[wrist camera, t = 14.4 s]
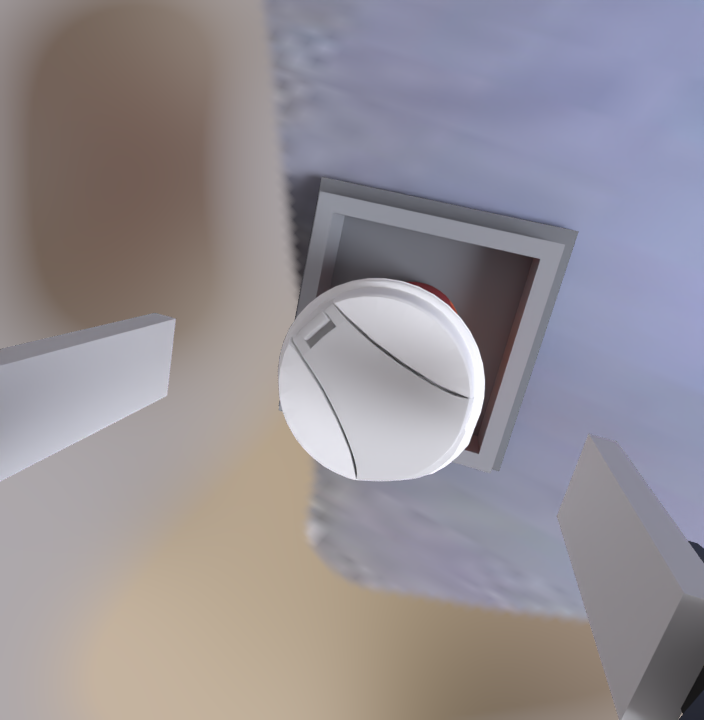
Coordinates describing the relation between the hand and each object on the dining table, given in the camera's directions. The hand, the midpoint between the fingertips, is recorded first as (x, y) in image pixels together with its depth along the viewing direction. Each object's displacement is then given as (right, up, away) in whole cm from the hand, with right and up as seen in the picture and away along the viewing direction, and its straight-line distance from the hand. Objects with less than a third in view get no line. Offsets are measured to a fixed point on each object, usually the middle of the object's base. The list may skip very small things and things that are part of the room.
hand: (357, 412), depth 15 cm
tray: (+4, +4, +18) cm, 19 cm away
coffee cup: (+4, +4, +17) cm, 18 cm away
